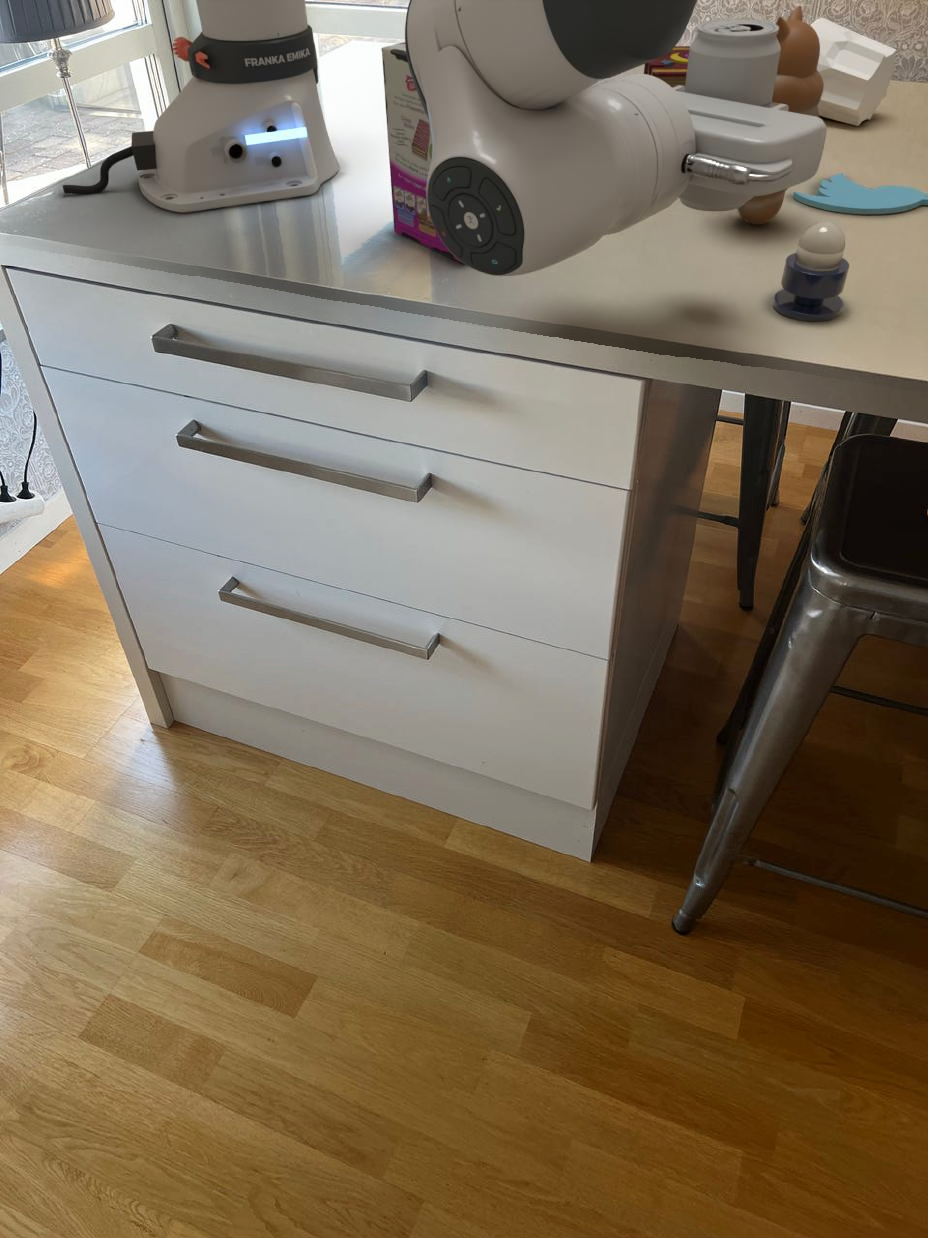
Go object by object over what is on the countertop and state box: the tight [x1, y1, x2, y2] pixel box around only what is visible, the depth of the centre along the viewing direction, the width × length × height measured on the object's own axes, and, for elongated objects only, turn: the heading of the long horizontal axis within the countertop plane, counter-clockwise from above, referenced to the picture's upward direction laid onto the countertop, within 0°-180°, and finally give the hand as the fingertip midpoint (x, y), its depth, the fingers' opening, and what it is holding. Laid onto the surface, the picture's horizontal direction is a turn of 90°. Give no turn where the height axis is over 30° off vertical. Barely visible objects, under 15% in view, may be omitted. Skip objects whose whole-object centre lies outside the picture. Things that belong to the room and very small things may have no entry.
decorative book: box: [643, 45, 690, 88], centre depth 126 cm, size 11×16×5 cm
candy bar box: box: [380, 41, 464, 264], centre depth 86 cm, size 11×5×16 cm, turn 40°
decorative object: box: [792, 172, 928, 215], centre depth 97 cm, size 12×1×10 cm
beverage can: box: [678, 18, 781, 212], centre depth 70 cm, size 6×6×12 cm
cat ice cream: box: [737, 5, 824, 225], centre depth 87 cm, size 9×8×18 cm
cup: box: [809, 17, 897, 127], centre depth 116 cm, size 10×10×10 cm
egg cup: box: [772, 220, 850, 322], centre depth 77 cm, size 6×6×7 cm
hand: (731, 106), depth 71 cm, fingers closed on beverage can, 6 cm apart
